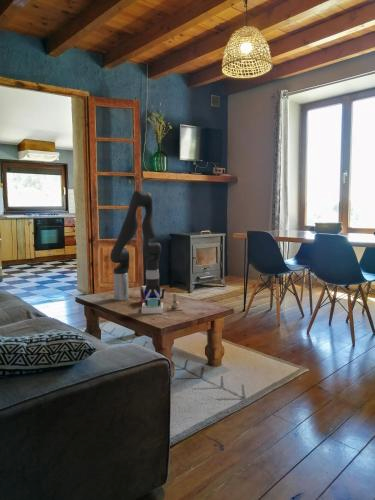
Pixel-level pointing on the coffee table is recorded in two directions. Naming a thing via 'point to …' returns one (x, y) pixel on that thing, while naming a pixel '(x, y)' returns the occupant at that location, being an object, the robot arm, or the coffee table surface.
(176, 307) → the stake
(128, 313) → the coffee table surface
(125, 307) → the coffee table surface
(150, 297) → the puzzle cube
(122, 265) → the robot arm
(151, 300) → the ring
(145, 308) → the tray
